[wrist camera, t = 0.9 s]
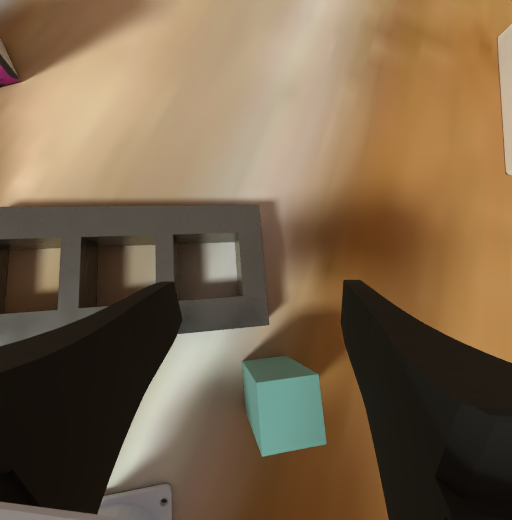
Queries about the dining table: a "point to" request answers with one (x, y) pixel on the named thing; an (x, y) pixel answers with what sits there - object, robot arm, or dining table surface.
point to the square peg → (283, 404)
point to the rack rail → (127, 234)
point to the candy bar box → (6, 68)
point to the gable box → (506, 92)
